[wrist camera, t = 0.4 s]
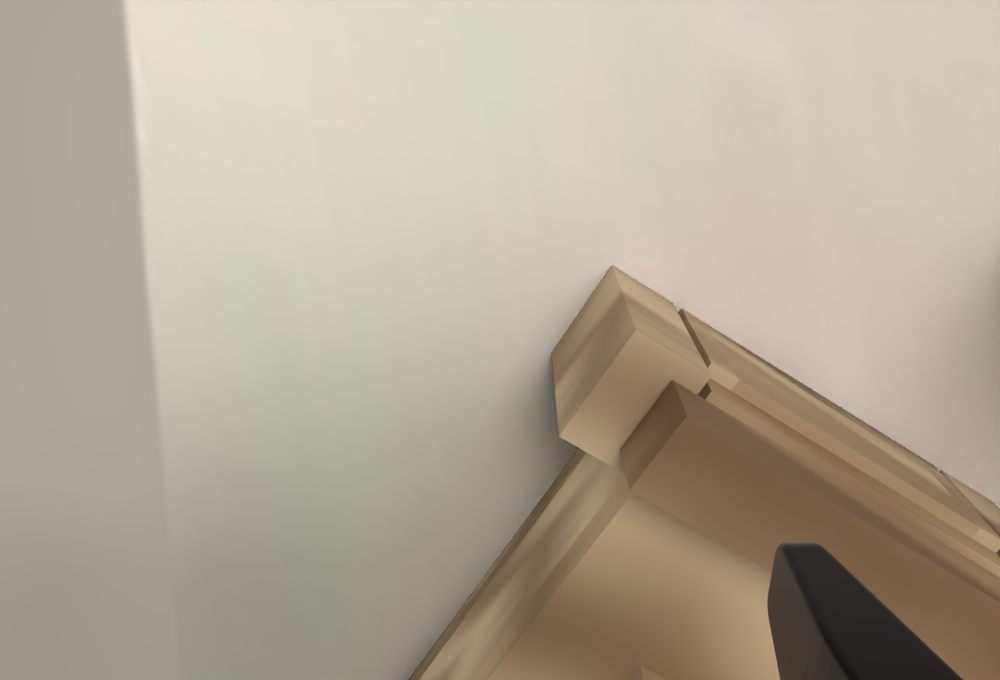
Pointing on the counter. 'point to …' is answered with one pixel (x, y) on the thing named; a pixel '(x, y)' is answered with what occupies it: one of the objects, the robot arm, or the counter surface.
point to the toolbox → (617, 413)
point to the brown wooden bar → (810, 523)
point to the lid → (673, 586)
